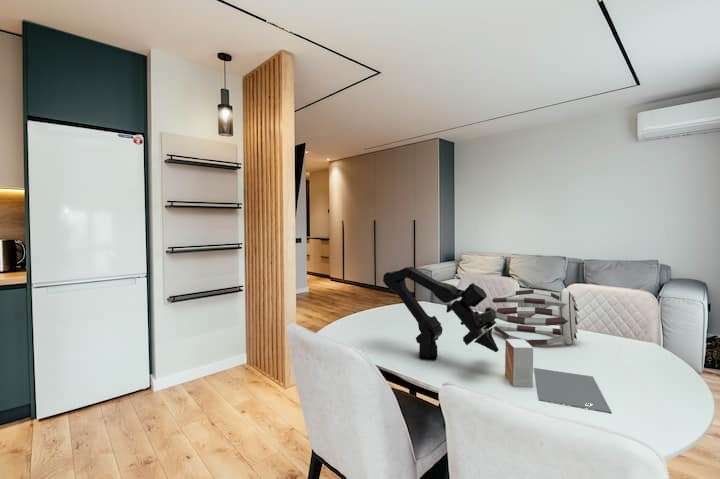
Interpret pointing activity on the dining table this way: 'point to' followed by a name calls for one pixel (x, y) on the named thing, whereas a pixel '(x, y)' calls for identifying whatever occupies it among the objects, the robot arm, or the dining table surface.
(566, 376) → the mouse pad
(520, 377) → the small box
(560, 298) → the decorative basket
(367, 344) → the dining table surface
